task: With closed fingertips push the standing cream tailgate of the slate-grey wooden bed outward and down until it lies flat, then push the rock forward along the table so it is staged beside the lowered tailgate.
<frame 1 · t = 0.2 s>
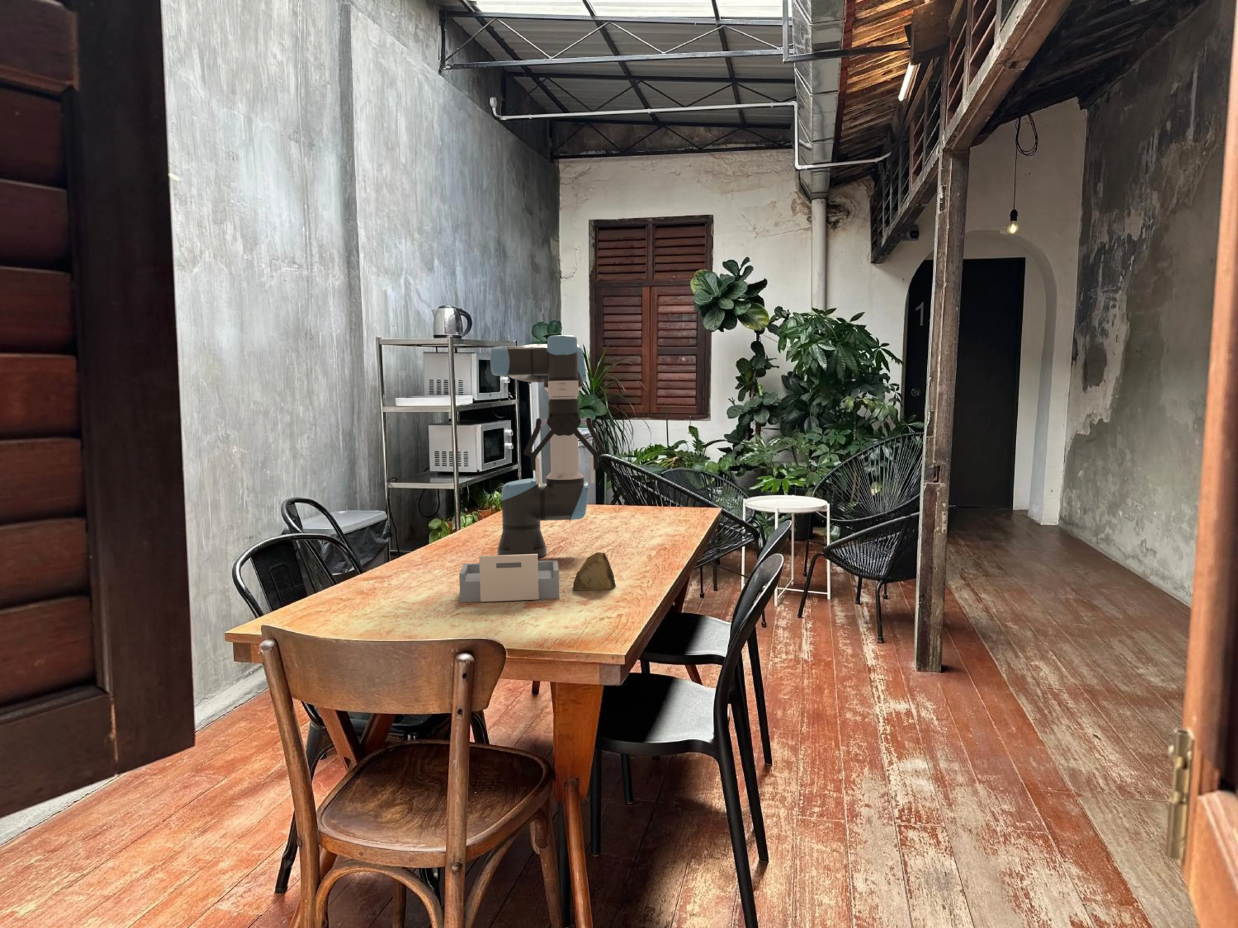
hand: (565, 483, 212), 28 cm above the table, fingers open, 13 cm apart
rock: (593, 589, 218), on the table
tailgate: (509, 577, 205), point 6 cm above the table, hinge at 0.0°
bed: (510, 594, 213), on the table
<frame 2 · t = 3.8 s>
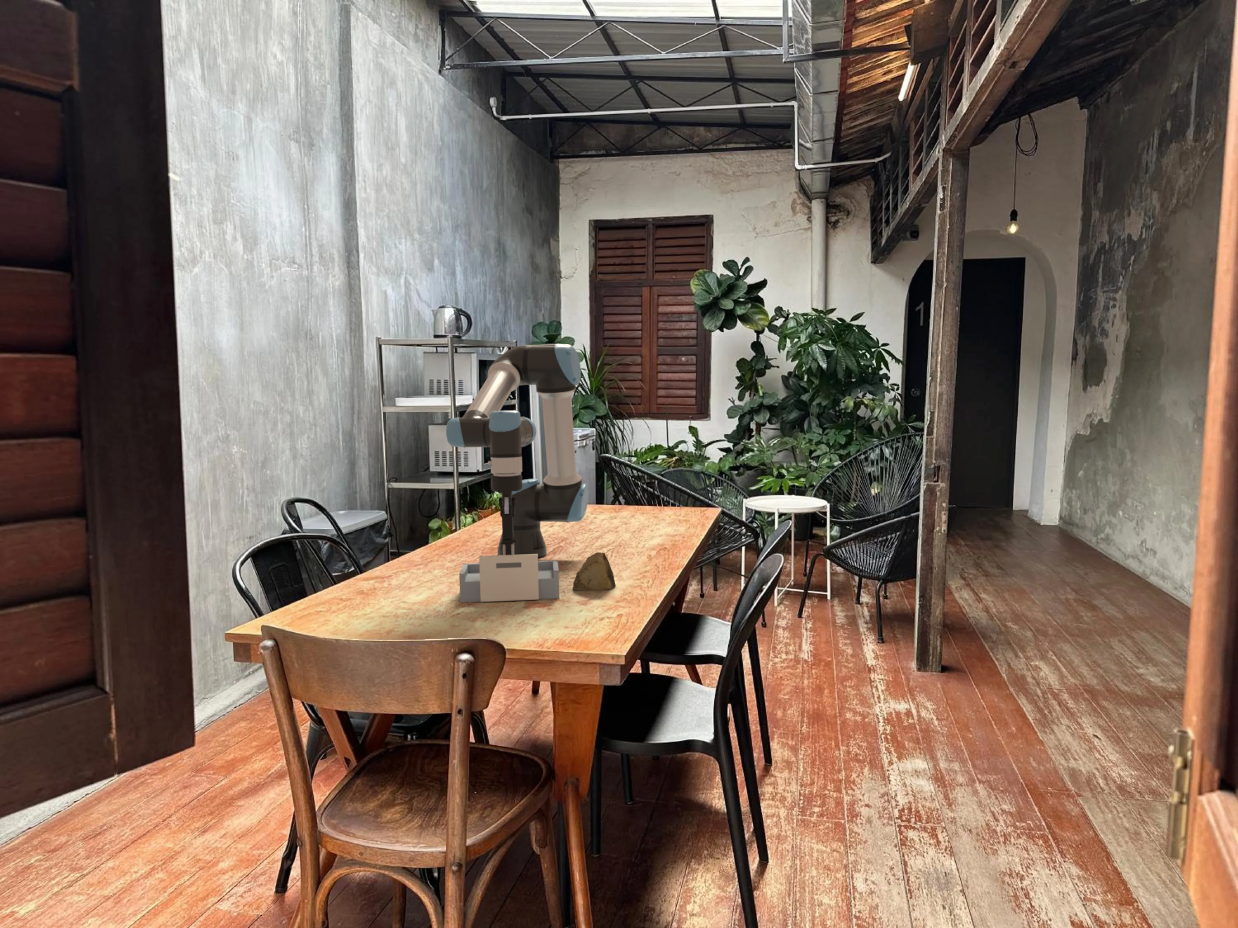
hand: (509, 569, 208), 7 cm above the table, fingers closed
tailgate: (509, 577, 205), point 6 cm above the table, hinge at 0.3°, touching gripper
everything else where it was.
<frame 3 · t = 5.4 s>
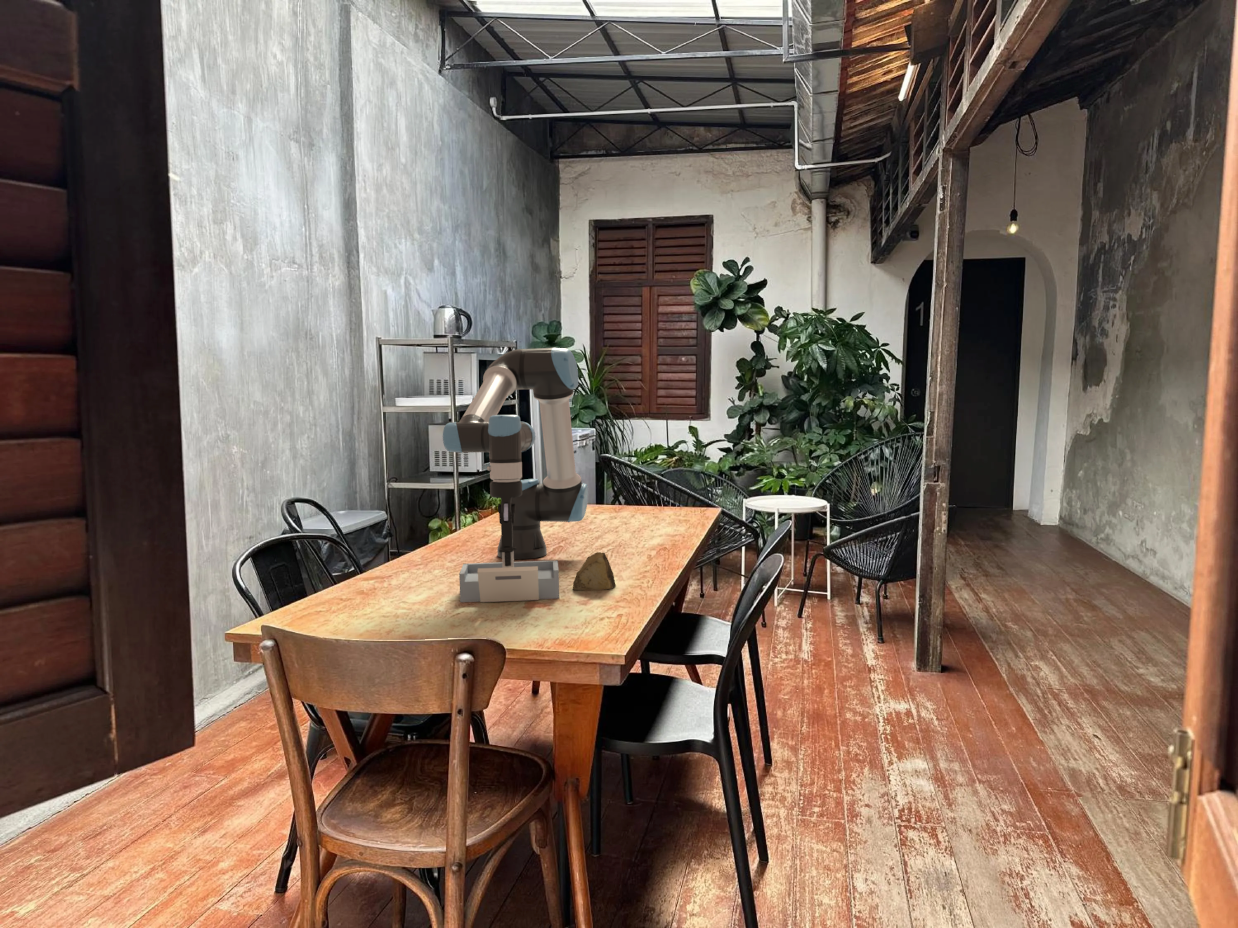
hand: (508, 578, 202), 6 cm above the table, fingers closed
tailgate: (508, 584, 202), point 5 cm above the table, hinge at 37.2°, touching gripper
everything else where it was.
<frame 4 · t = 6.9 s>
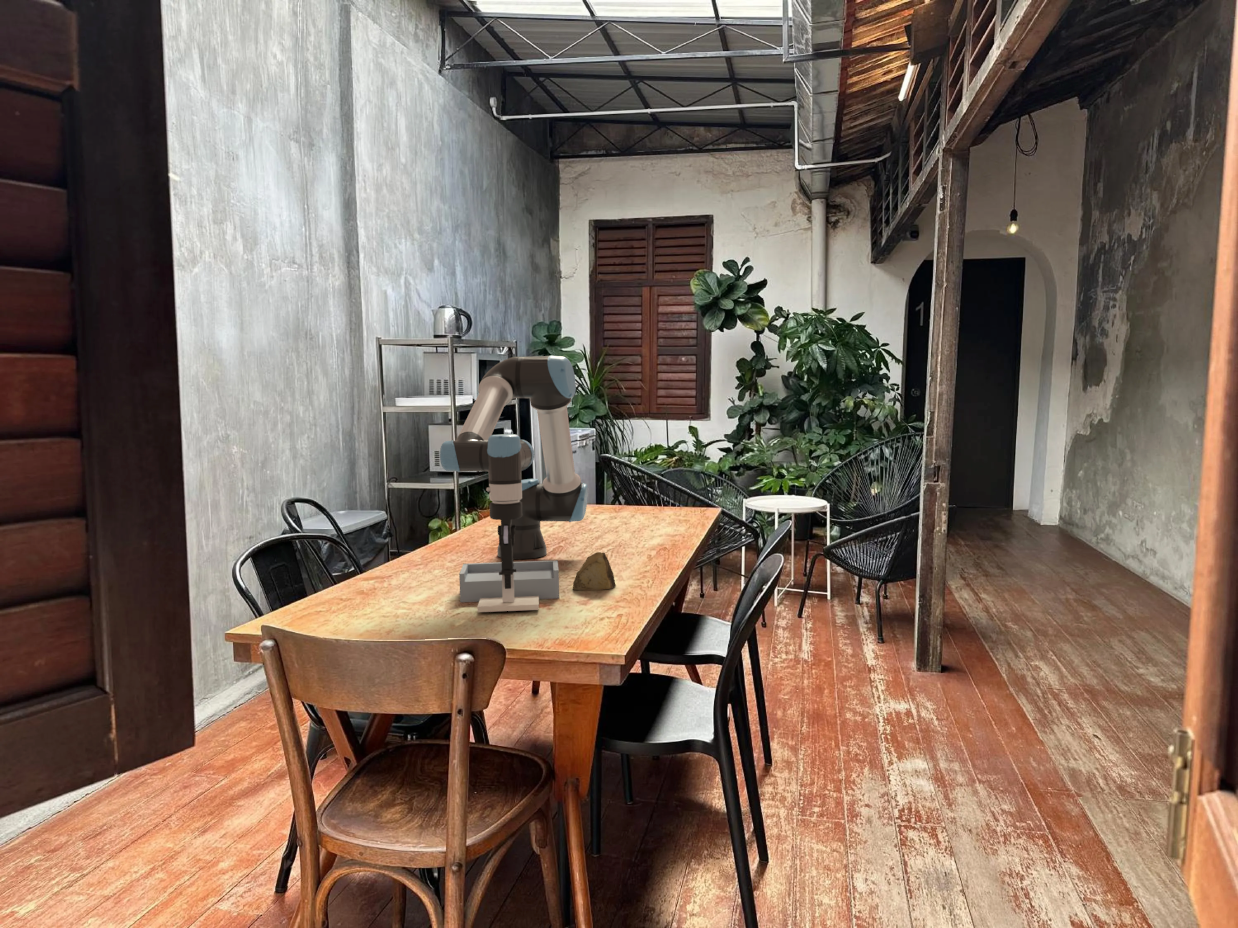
hand: (508, 600, 198), 2 cm above the table, fingers closed
tailgate: (508, 603, 199), point 1 cm above the table, hinge at 86.2°, touching gripper
everything else where it was.
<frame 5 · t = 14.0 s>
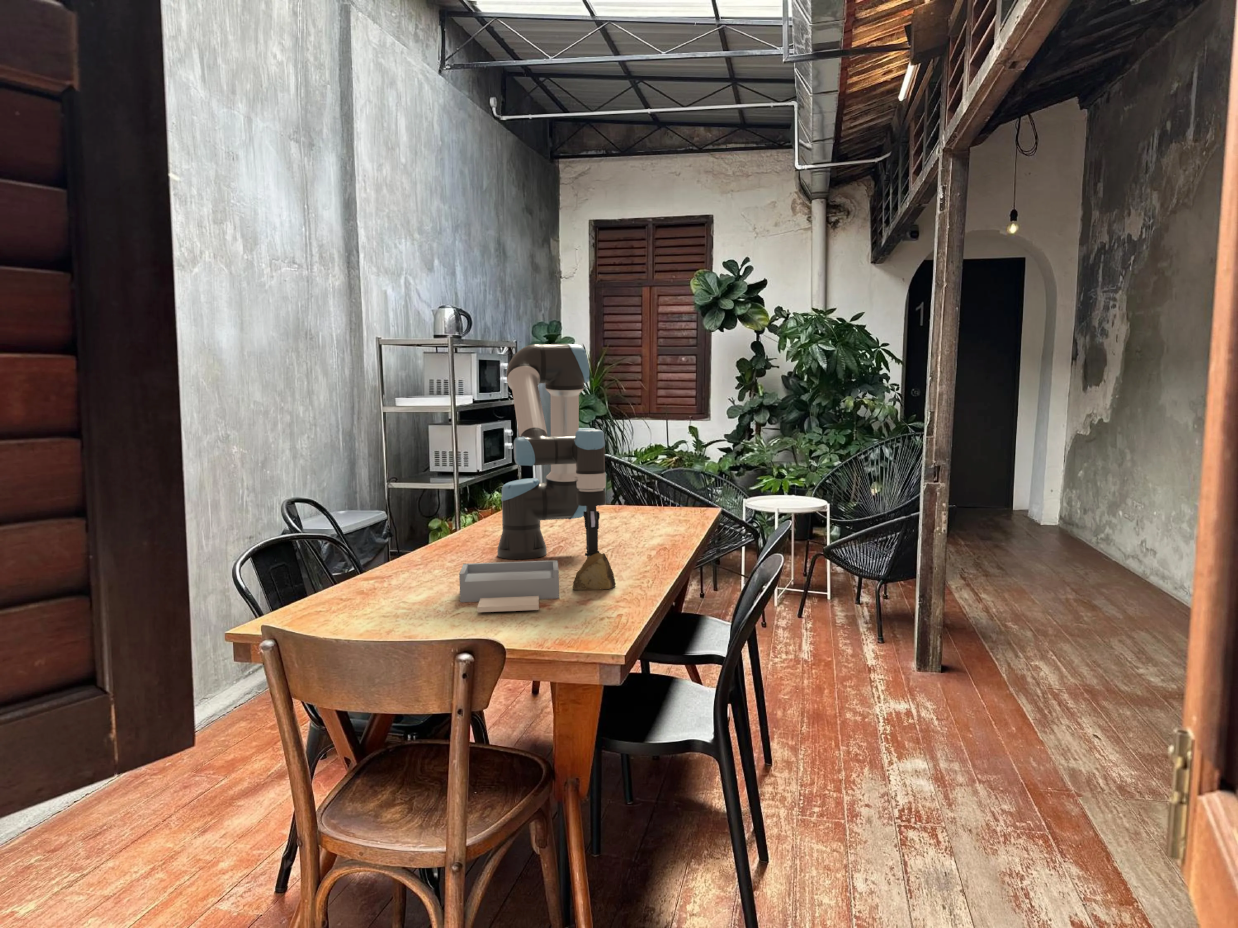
hand: (592, 579, 220), 2 cm above the table, fingers closed
tailgate: (508, 603, 199), point 1 cm above the table, hinge at 86.3°
everything else where it was.
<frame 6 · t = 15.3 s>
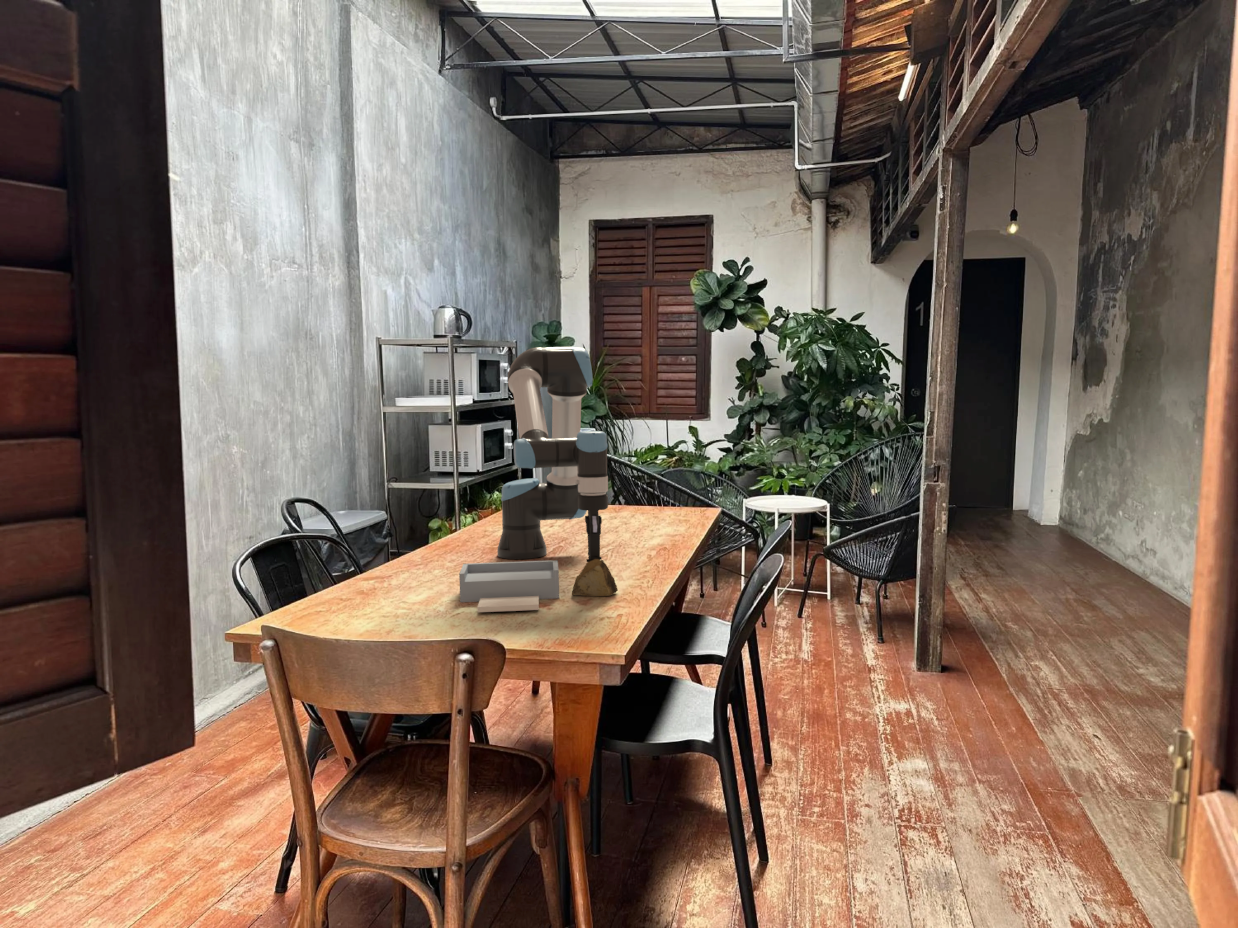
hand: (594, 586, 213), 2 cm above the table, fingers closed
rock: (593, 594, 211), on the table, touching gripper
everything else where it was.
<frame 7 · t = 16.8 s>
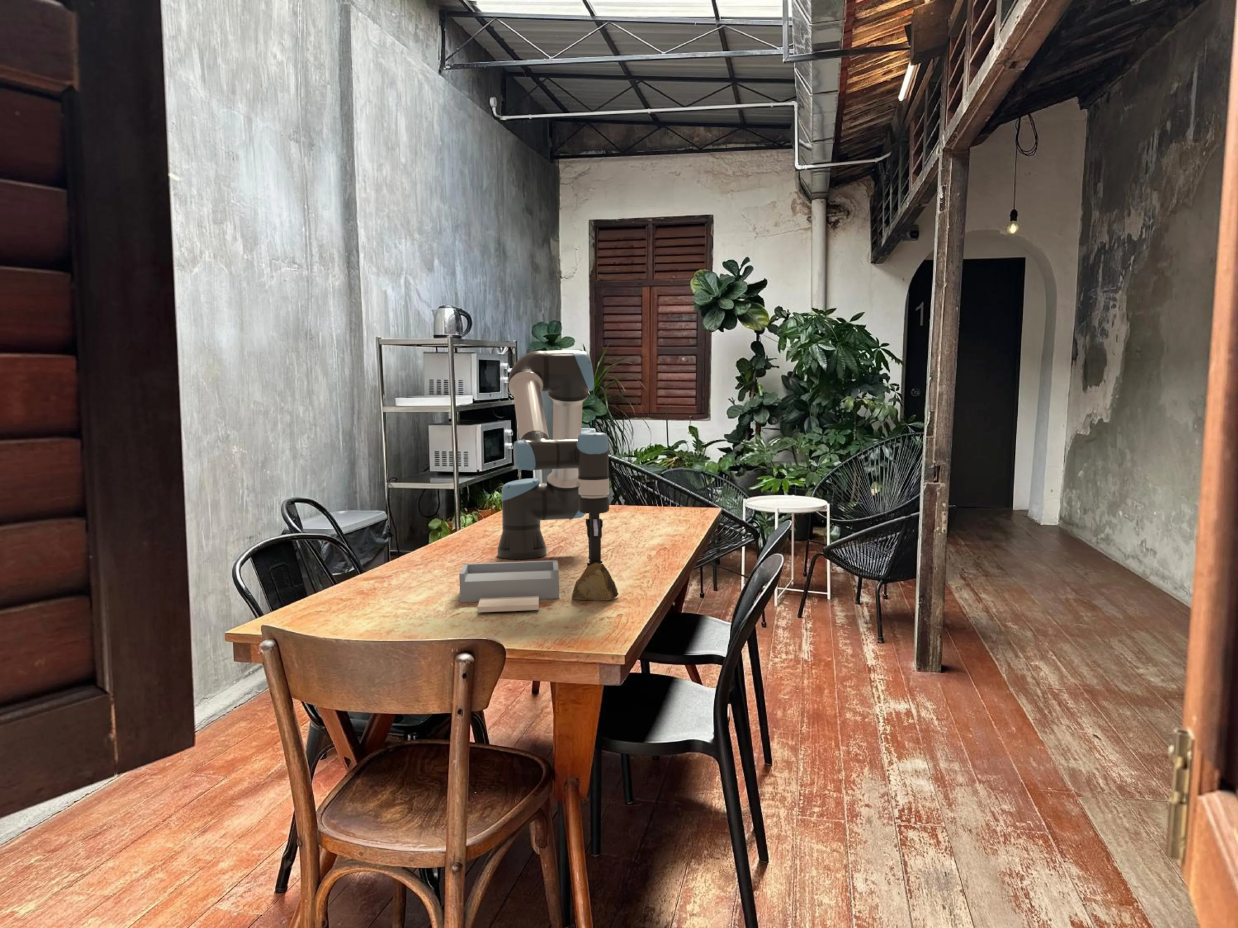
hand: (595, 590, 209), 1 cm above the table, fingers closed
rock: (594, 598, 207), on the table, touching gripper
everything else where it was.
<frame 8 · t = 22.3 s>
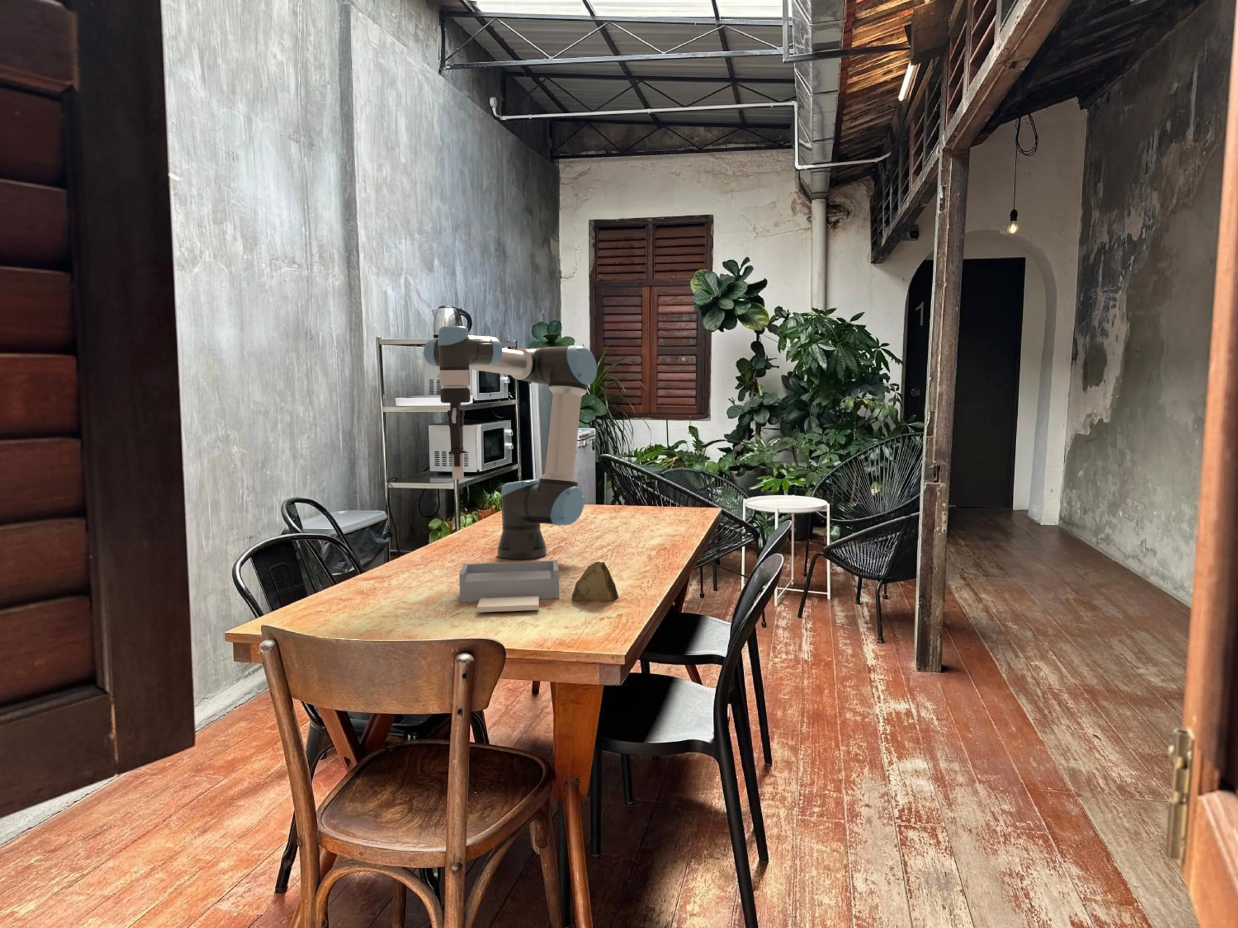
hand: (458, 478, 219), 28 cm above the table, fingers closed
rock: (594, 600, 207), on the table
everything else where it was.
at the end: tailgate at +86° (first picture: +0°); rock inside the target area (7.0 cm from its centre), on the table; rock moved 11.1 cm from its start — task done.
